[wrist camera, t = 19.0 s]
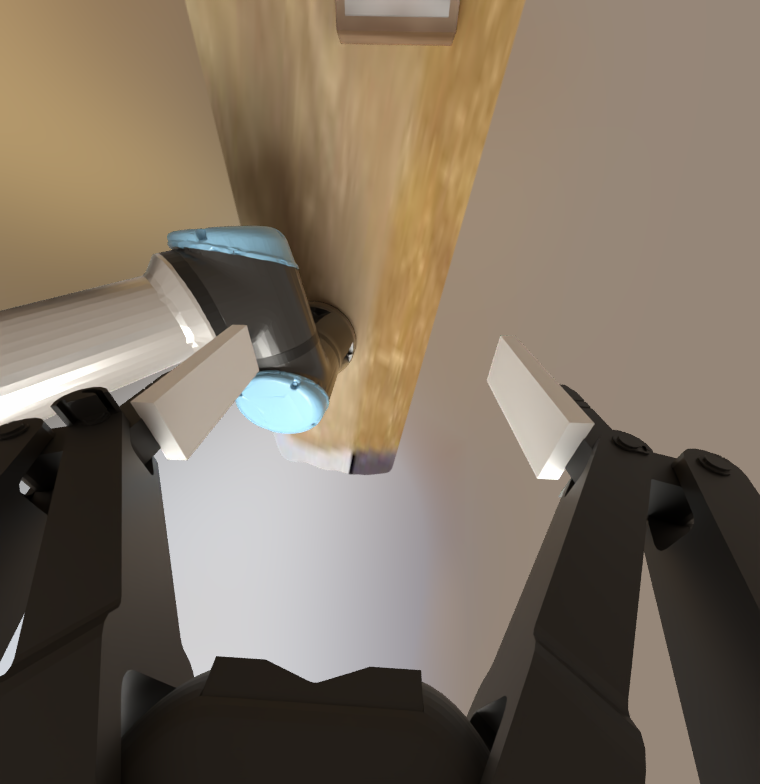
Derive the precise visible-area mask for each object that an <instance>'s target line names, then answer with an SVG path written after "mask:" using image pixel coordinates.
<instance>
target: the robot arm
mask: <svg viewBox="0 0 760 784" xmlns="http://www.w3.org/2000/svg"><path fill="white" fill-rule="evenodd" d="M167 239H168V246H169V247H170V248H171V249H172V250H171V251H166V252H161V253H156V254H153V255H152V257H151V260H150V263H149V265H148V268H147V270H146V272H145V273H144V275H143V276H140V277H136V278H132V279H128V280H124V281H120V282H116V283H112V284H107V285H104V286H99V287H96V288H92V289H87V290H83V291H79V292H75V293H71V294H67V295H63V296H58V297H54V298H51V299H46V300H42V301H38V302H34V303H30V304H26V305H22V306H18V307H14V308H10V309H6V310H2V311H0V661H1V659H2V657H3V655H4V653H5V651H6V649H7V647H8V645H9V643H10V641H11V639H12V637H13V635H14V633H15V631H16V629H17V627H18V625H19V623H20V621H21V619H22V617H23V615H24V613H25V615H24V619H23V624H22V628H21V632H20V637H19V641H18V645H17V649H16V653H15V658H14V660H13V663H12V665H11V667H10V668H9V670H8V671H7V672H6V673H5V674H4V675H2V676H0V784H645V776H646V761H645V747H644V743H643V739H642V736H641V732H640V731H639V729H638V728H637V727H636V725H635V724H634V723H633V721H632V720H631V718H630V716H629V711H628V695H629V687H630V686H629V685H630V677H631V668H632V658H633V648H634V639H635V629H636V620H637V611H638V601H639V591H640V582H641V572H642V564H643V553H645V556H646V561H647V565H648V569H649V573H650V577H651V581H652V586H653V590H654V594H655V598H656V602H657V606H658V610H659V615H660V619H661V623H662V627H663V631H664V635H665V639H666V643H667V648H668V652H669V656H670V660H671V664H672V668H673V673H674V677H675V681H676V685H677V689H678V693H679V697H680V702H681V705H682V710H683V714H684V718H685V722H686V726H687V730H688V735H689V739H690V743H691V747H692V751H693V755H694V759H695V764H696V767H697V771H698V776H699V780H700V784H760V495H759V493H758V492H757V490H756V489H755V488H754V486H753V485H752V483H751V482H750V480H749V479H748V477H747V476H746V475H745V474H744V473H743V472H742V471H741V470H740V469H739V468H738V467H737V466H735V465H734V464H732V463H731V462H730V461H729V460H727V459H725V458H722V457H721V456H719V455H716V454H713V453H710V452H707V451H704V450H699V449H687V450H685V451H684V452H683V453H682V454H681V455H680V456H679V457H678V458H673V457H668V456H665V455H661V454H657V453H653V451H652V449H651V448H650V447H649V446H648V445H647V444H646V443H644V442H643V441H642V440H640V439H639V438H637V437H635V436H633V435H631V434H628V433H625V432H622V431H618V430H612V429H611V428H610V427H609V426H608V425H607V424H606V423H605V422H604V421H603V420H602V419H601V417H600V416H599V415H598V414H597V413H596V412H595V411H594V410H593V409H590V406H589V405H588V404H587V403H586V402H584V400H583V399H582V398H581V397H580V396H579V395H578V393H577V392H575V391H574V390H572V389H570V388H569V387H567V386H566V385H559V384H558V382H557V381H556V380H555V379H554V378H553V377H552V376H551V375H550V374H549V372H548V371H547V370H546V369H545V368H544V367H543V366H542V365H541V364H540V363H539V361H538V360H537V359H536V358H535V357H534V356H533V355H532V354H531V353H530V352H529V350H528V349H527V348H526V347H525V346H524V345H523V344H522V343H521V341H520V340H519V339H518V338H517V337H516V336H503V335H500V338H499V342H498V345H497V348H496V352H495V355H494V358H493V361H492V365H491V368H490V372H489V375H488V378H487V382H488V384H489V386H490V388H491V390H492V392H493V394H494V396H495V398H496V400H497V402H498V404H499V405H500V407H501V409H502V411H503V413H504V415H505V417H506V419H507V421H508V423H509V425H510V427H511V429H512V431H513V432H514V435H515V437H516V438H517V440H518V442H519V444H520V446H521V448H522V450H523V452H524V454H525V456H526V458H527V460H528V462H529V464H530V466H531V467H532V470H533V471H534V473H535V475H536V477H537V478H539V479H559V478H560V476H561V474H562V473H563V471H564V470H565V468H566V470H567V472H568V473H569V474H570V476H571V479H570V480H569V482H568V483H567V485H566V486H565V487H564V489H563V490H562V492H561V493H560V495H559V496H558V497H560V498H561V500H560V502H559V505H558V507H557V509H556V512H555V514H554V517H553V519H552V522H551V524H550V526H549V529H548V531H547V534H546V536H545V538H544V541H543V543H542V546H541V548H540V551H539V553H538V555H537V558H536V560H535V563H534V565H533V568H532V570H531V573H530V575H529V577H528V580H527V582H526V585H525V587H524V589H523V592H522V594H521V597H520V599H519V602H518V604H517V606H516V609H515V611H514V614H513V616H512V618H511V621H510V623H509V626H508V628H507V631H506V633H505V636H504V638H503V640H502V643H501V645H500V648H499V650H498V652H497V655H496V657H495V660H494V662H493V664H492V666H491V668H490V670H489V672H488V673H487V675H486V677H485V678H484V680H483V682H482V684H481V686H480V688H479V690H478V692H477V694H476V696H475V699H474V701H473V703H472V705H471V708H470V710H469V712H468V715H467V717H466V716H465V715H464V714H463V713H462V712H461V711H460V710H459V709H458V708H457V706H456V705H455V704H453V703H452V702H451V701H450V700H449V699H448V698H446V696H444V695H443V694H442V693H440V692H439V691H437V690H436V689H434V688H433V687H431V686H429V685H428V684H425V683H423V682H422V679H421V670H408V669H395V668H380V667H368V668H365V669H362V670H358V671H355V672H352V673H349V674H345V675H342V676H339V677H335V678H332V679H329V680H325V681H322V682H319V683H313V682H310V681H307V680H305V679H303V678H301V677H299V676H297V675H295V674H293V673H291V672H289V671H287V670H285V669H283V668H281V667H279V666H277V665H275V664H273V663H271V662H269V661H267V660H263V659H248V658H234V657H219V656H216V658H215V661H214V663H213V666H212V668H211V670H210V671H207V672H205V673H202V674H200V675H198V676H196V677H194V675H193V670H192V667H191V664H190V662H189V660H188V658H187V655H186V653H185V652H184V650H183V646H182V644H181V638H180V631H179V623H178V616H177V608H176V601H175V593H174V585H173V578H172V570H171V562H170V554H169V546H168V539H167V531H166V524H165V516H164V508H163V501H162V493H161V485H160V477H159V470H158V463H157V461H156V459H155V458H154V455H155V454H156V452H157V451H158V450H159V449H161V450H162V452H163V453H164V455H165V456H166V457H167V459H171V460H188V459H189V458H190V456H191V455H192V454H193V453H194V451H195V450H196V449H197V448H198V446H199V445H200V444H201V443H202V441H203V440H204V439H205V438H206V436H207V435H208V434H209V433H210V432H211V430H212V429H213V428H214V427H215V425H216V424H217V423H218V421H219V420H220V419H221V418H222V417H223V415H224V414H225V413H226V412H227V410H228V409H229V408H230V407H231V405H232V404H233V403H234V402H235V401H236V404H237V407H238V408H239V410H240V411H241V413H242V414H243V415H244V416H245V417H246V418H247V419H248V420H250V421H251V422H253V423H254V424H256V425H258V426H260V427H262V428H265V429H268V430H270V431H273V432H277V433H285V434H293V433H300V432H304V431H307V430H309V429H311V428H313V427H314V426H316V425H317V424H318V423H319V421H320V420H321V419H322V417H323V415H324V413H325V411H326V410H327V408H328V405H329V399H330V396H331V393H332V390H333V387H334V384H335V381H336V378H337V375H338V373H340V372H341V371H342V370H343V369H345V368H346V367H347V365H348V364H349V363H350V361H351V359H352V357H353V354H354V351H355V346H356V337H355V333H354V330H353V327H352V325H351V323H350V322H349V320H348V319H347V318H346V317H345V315H344V314H343V313H341V312H340V311H339V310H338V309H336V308H334V307H333V306H331V305H328V304H326V303H322V302H316V301H308V300H307V297H306V294H305V291H304V287H303V284H302V281H301V278H300V275H299V272H298V270H299V267H298V265H297V264H296V263H295V261H294V258H293V255H292V252H291V250H290V247H289V244H288V241H287V239H286V238H285V236H284V235H283V234H282V233H281V232H280V231H279V230H277V229H275V228H272V227H268V226H227V227H212V228H206V229H187V230H180V231H174V232H171V233H169V234H168V236H167ZM183 361H184V362H183ZM181 362H182V363H181ZM178 363H181V364H180V365H178V366H177V367H176V368H174V369H173V370H171V371H169V372H167V373H165V374H163V375H161V376H160V377H159V378H157V379H156V380H155V381H153V383H151V384H149V385H148V386H147V387H145V389H142V390H141V391H140V392H138V393H137V394H136V395H134V396H133V397H132V398H130V399H129V400H128V401H126V402H125V403H124V404H122V405H121V406H120V407H119V406H118V404H117V403H116V401H115V400H114V398H113V397H112V396H111V394H110V393H109V392H112V391H114V390H116V389H119V388H121V387H124V386H126V385H128V384H131V383H133V382H135V381H138V380H140V379H143V378H145V377H147V376H150V375H152V374H154V373H157V372H159V371H162V370H164V369H166V368H169V367H171V366H173V365H176V364H178ZM54 415H58V416H59V417H60V418H61V419H62V421H63V422H64V423H65V424H66V425H67V426H66V427H60V428H53V429H51V428H50V427H49V426H48V425H47V424H46V423H45V422H44V421H43V420H45V419H47V418H50V417H52V416H54ZM21 480H22V481H23V482H24V483H25V484H27V485H28V486H29V487H30V489H29V490H28V492H27V493H26V494H25V495H24V494H22V493H21V492H20V488H19V483H20V481H21Z"/></svg>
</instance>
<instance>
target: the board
mask: <svg viewBox="0 0 760 784" xmlns="http://www.w3.org/2000/svg"><path fill="white" fill-rule="evenodd" d="M335 2H336V25H337V33H338V36H339V39H340V42H341V44H389V45H444V46H451V45H452V42H453V39H454V37H455V34H456V28H457V20H458V11H459V3H460V0H335Z"/></svg>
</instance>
